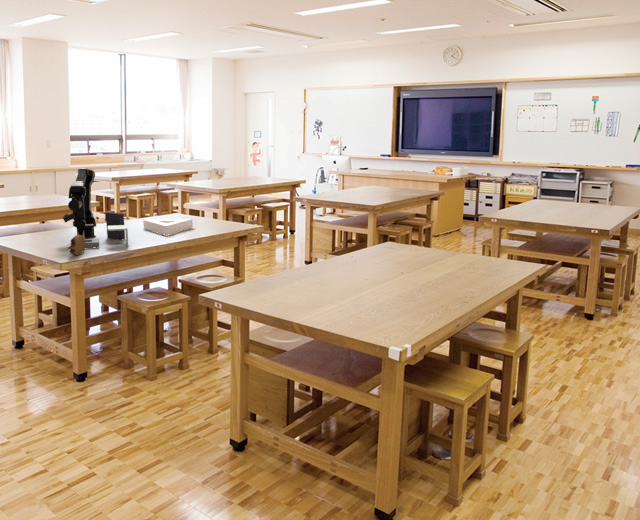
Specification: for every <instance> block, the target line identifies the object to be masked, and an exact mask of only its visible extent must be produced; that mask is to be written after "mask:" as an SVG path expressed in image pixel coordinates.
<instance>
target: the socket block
mask: <svg viewBox="0 0 640 520" xmlns="http://www.w3.org/2000/svg"><path fill="white" fill-rule="evenodd" d="M83 242H86V246H85V248H88V249H94V248H93V247H96V248H95V249H98V248H97V247H99V248H100V238H85V239H84V240H83Z"/></svg>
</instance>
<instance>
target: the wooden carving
mask: <svg viewBox="0 0 640 520" xmlns="http://www.w3.org/2000/svg"><path fill="white" fill-rule="evenodd" d="M83 240H84V236H83V235H77V234H76V235H75V236H73V237H72V238H71V239H70V246H69V247H68V249H69V254H71V255H74V256H79V255H78V254H80V253H81V254H82V253H83V252H85V250H86V249H85V246H86V242H83ZM81 254H80V255H81Z"/></svg>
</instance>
